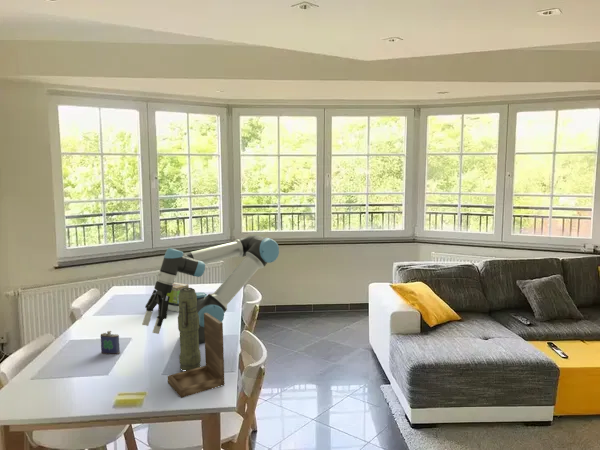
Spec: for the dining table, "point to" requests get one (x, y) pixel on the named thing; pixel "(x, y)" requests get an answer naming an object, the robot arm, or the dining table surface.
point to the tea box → (175, 296)
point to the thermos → (188, 330)
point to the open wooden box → (214, 368)
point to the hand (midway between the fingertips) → (150, 329)
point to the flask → (110, 343)
